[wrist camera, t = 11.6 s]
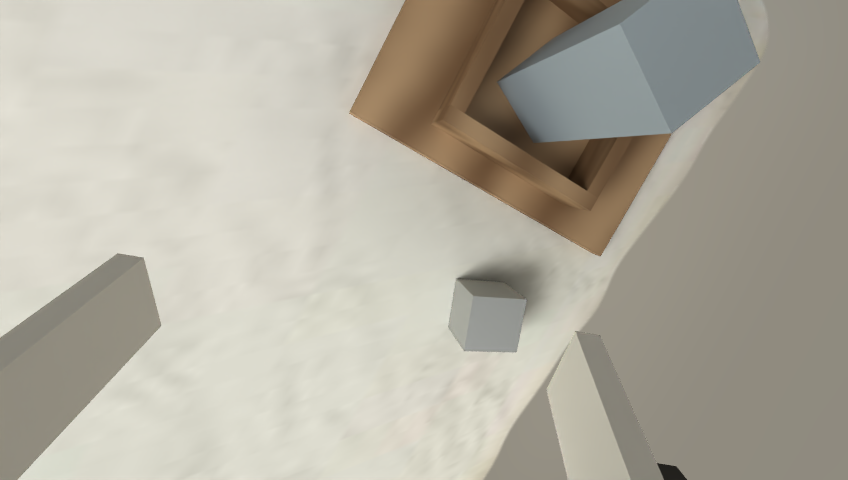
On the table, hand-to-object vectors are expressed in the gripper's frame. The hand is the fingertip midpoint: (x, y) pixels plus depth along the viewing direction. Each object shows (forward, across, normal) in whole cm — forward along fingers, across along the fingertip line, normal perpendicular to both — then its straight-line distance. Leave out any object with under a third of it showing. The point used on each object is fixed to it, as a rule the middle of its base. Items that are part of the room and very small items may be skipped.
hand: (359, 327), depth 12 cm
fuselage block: (+20, +8, +5) cm, 22 cm away
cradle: (+21, +8, +5) cm, 23 cm away
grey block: (+15, +7, -11) cm, 20 cm away
